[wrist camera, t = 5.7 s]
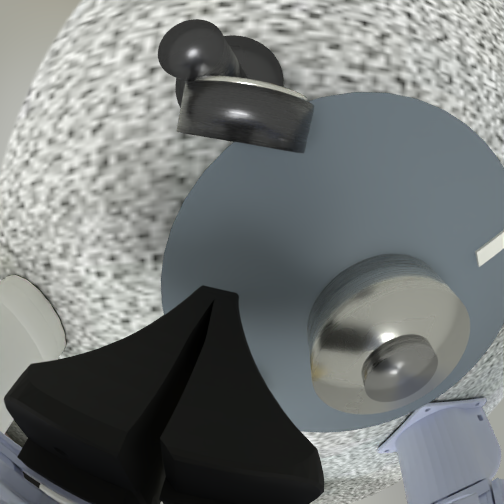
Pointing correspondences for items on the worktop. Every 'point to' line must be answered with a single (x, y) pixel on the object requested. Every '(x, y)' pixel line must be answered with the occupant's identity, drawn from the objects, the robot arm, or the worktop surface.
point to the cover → (384, 334)
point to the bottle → (24, 334)
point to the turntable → (343, 232)
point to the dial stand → (233, 89)
